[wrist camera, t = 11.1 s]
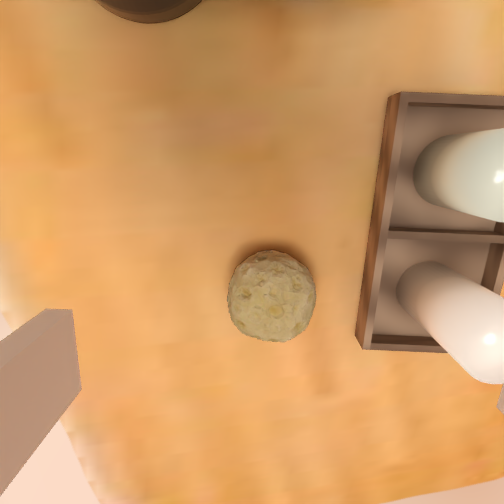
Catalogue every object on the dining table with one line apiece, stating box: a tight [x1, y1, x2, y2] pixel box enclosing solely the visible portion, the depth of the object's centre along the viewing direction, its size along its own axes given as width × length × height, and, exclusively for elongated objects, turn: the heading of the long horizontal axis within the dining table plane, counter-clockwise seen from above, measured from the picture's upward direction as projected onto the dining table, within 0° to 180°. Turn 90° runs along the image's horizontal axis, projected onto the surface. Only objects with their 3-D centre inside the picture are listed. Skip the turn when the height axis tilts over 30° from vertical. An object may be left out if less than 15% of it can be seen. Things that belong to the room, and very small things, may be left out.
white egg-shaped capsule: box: [413, 128, 504, 222], centre depth 29 cm, size 7×7×9 cm
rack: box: [355, 92, 504, 353], centre depth 34 cm, size 26×13×3 cm, turn 178°
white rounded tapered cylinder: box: [396, 261, 504, 384], centre depth 31 cm, size 6×6×12 cm
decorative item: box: [227, 250, 316, 342], centre depth 35 cm, size 10×10×10 cm
